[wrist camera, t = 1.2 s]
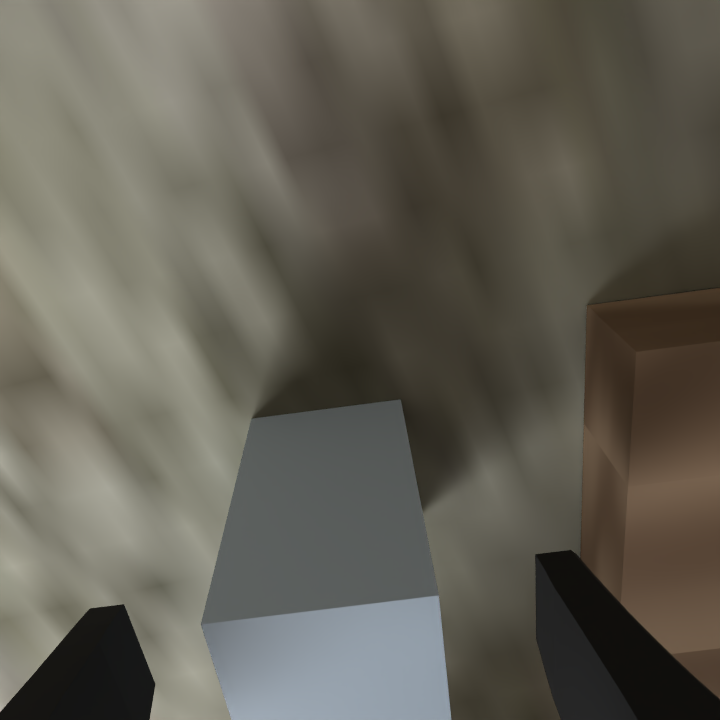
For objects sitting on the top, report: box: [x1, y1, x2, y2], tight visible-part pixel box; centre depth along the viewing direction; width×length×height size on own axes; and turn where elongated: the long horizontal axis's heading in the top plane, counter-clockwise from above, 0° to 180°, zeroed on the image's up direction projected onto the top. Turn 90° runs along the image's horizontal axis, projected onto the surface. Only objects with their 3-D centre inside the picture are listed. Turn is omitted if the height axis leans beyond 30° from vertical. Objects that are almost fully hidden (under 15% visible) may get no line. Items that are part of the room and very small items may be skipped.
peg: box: [201, 399, 451, 720], centre depth 13 cm, size 4×4×6 cm
